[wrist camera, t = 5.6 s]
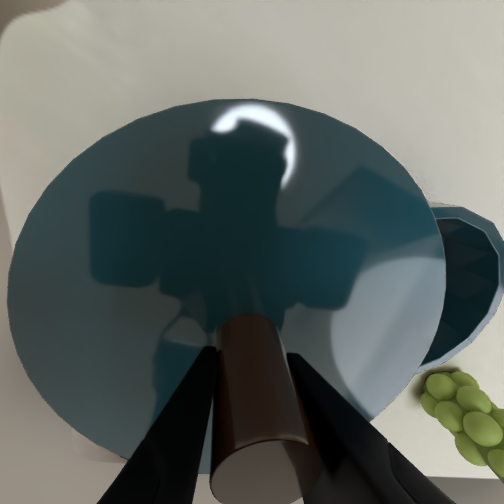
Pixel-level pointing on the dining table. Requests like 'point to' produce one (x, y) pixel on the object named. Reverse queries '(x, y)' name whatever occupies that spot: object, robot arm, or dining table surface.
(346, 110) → the dining table surface
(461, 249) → the teal round bowl
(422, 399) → the grapes
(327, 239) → the lid
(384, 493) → the robot arm
